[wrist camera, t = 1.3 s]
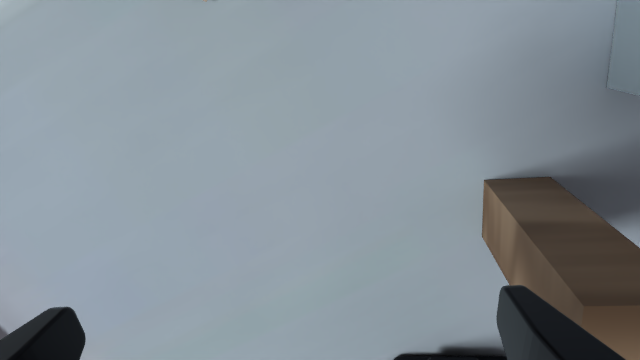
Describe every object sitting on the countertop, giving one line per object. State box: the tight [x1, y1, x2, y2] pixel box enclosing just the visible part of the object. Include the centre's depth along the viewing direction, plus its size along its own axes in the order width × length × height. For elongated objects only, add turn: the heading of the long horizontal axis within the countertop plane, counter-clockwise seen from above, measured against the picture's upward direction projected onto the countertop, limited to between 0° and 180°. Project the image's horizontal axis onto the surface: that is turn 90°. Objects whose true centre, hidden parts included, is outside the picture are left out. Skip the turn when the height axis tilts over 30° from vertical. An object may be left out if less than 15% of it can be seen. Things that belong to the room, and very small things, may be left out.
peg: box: [482, 177, 640, 360], centre depth 16 cm, size 3×3×10 cm
